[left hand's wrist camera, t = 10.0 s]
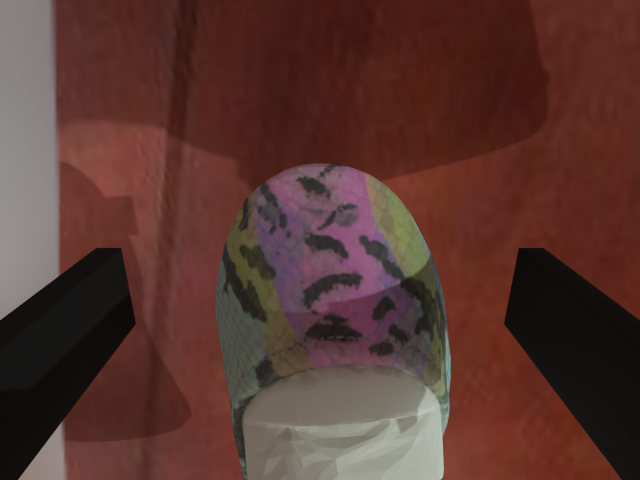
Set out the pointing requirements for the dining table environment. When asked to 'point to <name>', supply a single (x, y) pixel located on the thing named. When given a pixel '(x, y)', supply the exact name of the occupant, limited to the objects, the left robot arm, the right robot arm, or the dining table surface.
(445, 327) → the ballet flat
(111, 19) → the dining table surface
